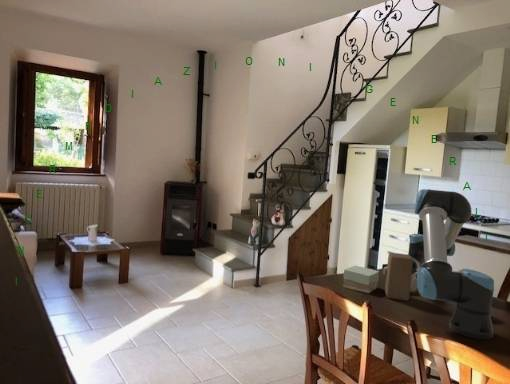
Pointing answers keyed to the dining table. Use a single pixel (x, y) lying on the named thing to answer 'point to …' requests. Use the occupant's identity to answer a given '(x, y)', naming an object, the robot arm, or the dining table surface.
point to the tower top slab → (361, 275)
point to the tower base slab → (360, 286)
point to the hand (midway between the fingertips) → (398, 274)
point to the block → (398, 276)
